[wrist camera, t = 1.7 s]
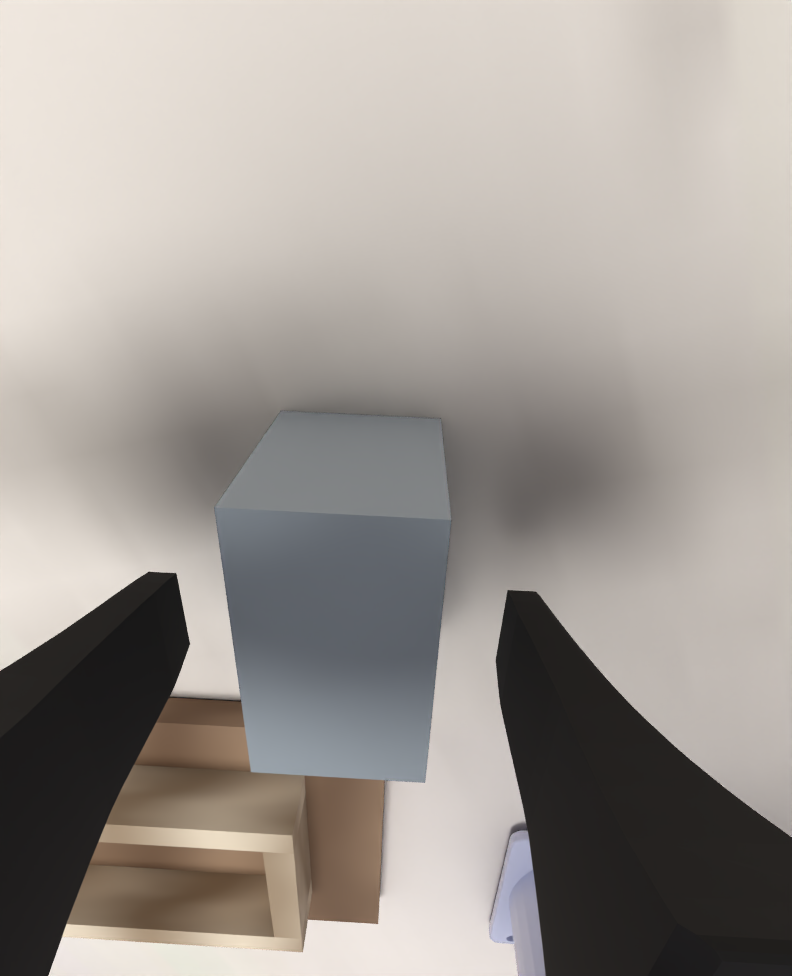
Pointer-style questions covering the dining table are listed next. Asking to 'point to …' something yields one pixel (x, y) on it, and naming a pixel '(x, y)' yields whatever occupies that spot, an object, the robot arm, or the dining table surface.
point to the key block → (338, 592)
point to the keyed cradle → (228, 844)
